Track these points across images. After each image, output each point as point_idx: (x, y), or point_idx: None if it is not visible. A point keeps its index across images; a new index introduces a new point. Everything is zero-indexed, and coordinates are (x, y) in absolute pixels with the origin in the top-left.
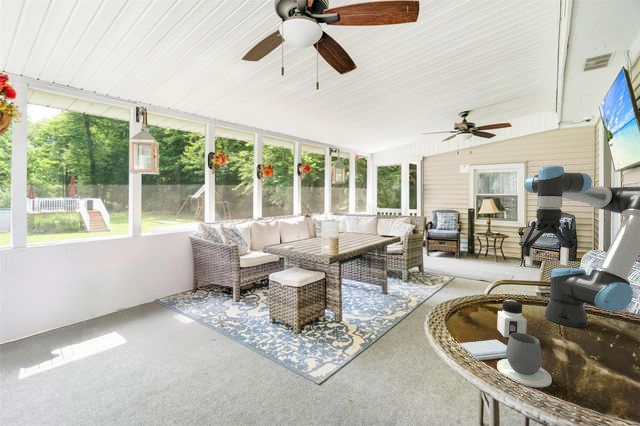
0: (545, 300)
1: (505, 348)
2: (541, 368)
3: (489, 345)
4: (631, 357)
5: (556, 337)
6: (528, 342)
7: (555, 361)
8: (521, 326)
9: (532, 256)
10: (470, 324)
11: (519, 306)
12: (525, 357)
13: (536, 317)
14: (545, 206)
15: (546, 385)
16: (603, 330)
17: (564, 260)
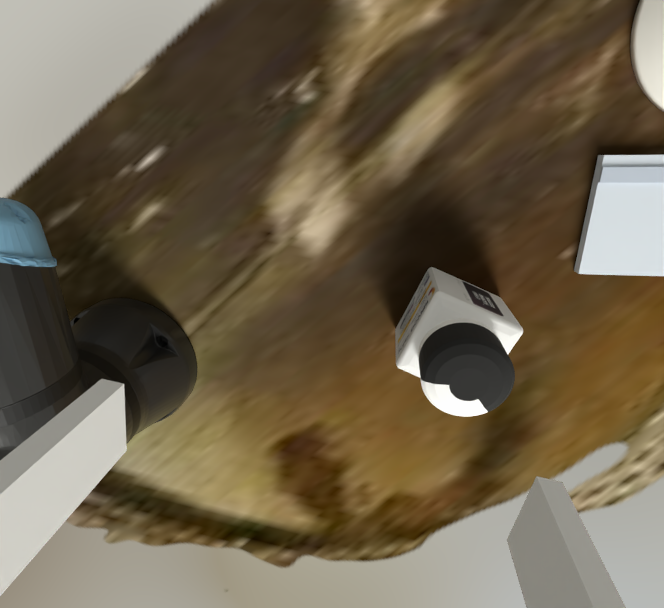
0: None
1: (621, 199)
2: (645, 18)
3: (661, 236)
4: (165, 58)
5: (296, 253)
6: None
7: (493, 85)
8: (453, 289)
9: (589, 596)
10: (529, 414)
11: (469, 339)
12: None
13: (220, 401)
14: None
15: None
16: (71, 262)
17: (86, 442)
